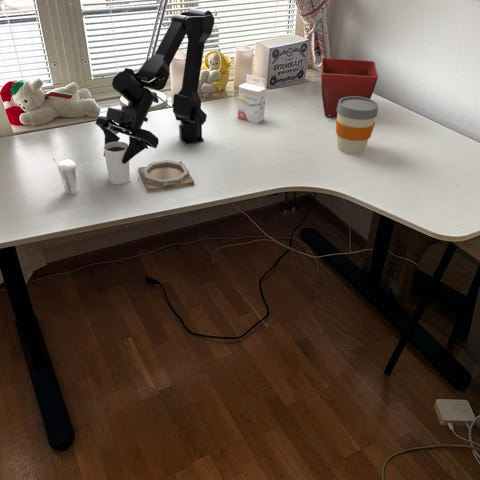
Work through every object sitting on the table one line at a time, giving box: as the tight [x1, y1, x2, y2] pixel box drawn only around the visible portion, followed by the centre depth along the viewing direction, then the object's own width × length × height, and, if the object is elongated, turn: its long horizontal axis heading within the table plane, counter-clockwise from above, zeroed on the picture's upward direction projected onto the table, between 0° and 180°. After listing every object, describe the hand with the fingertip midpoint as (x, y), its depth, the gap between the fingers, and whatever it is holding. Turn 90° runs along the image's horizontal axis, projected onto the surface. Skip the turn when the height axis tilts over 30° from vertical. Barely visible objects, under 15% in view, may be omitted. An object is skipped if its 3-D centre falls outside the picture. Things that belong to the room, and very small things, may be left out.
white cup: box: [103, 141, 131, 185], centre depth 145 cm, size 7×7×10 cm
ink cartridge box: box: [237, 74, 267, 124], centre depth 182 cm, size 9×5×15 cm, turn 58°
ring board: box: [137, 159, 195, 193], centre depth 148 cm, size 13×13×2 cm
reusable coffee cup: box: [335, 96, 379, 155], centre depth 164 cm, size 13×13×15 cm
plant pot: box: [320, 57, 379, 119], centre depth 189 cm, size 19×19×17 cm
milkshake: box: [52, 158, 78, 196], centre depth 138 cm, size 4×5×10 cm
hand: (113, 159), depth 143 cm, fingers closed on white cup, 6 cm apart
